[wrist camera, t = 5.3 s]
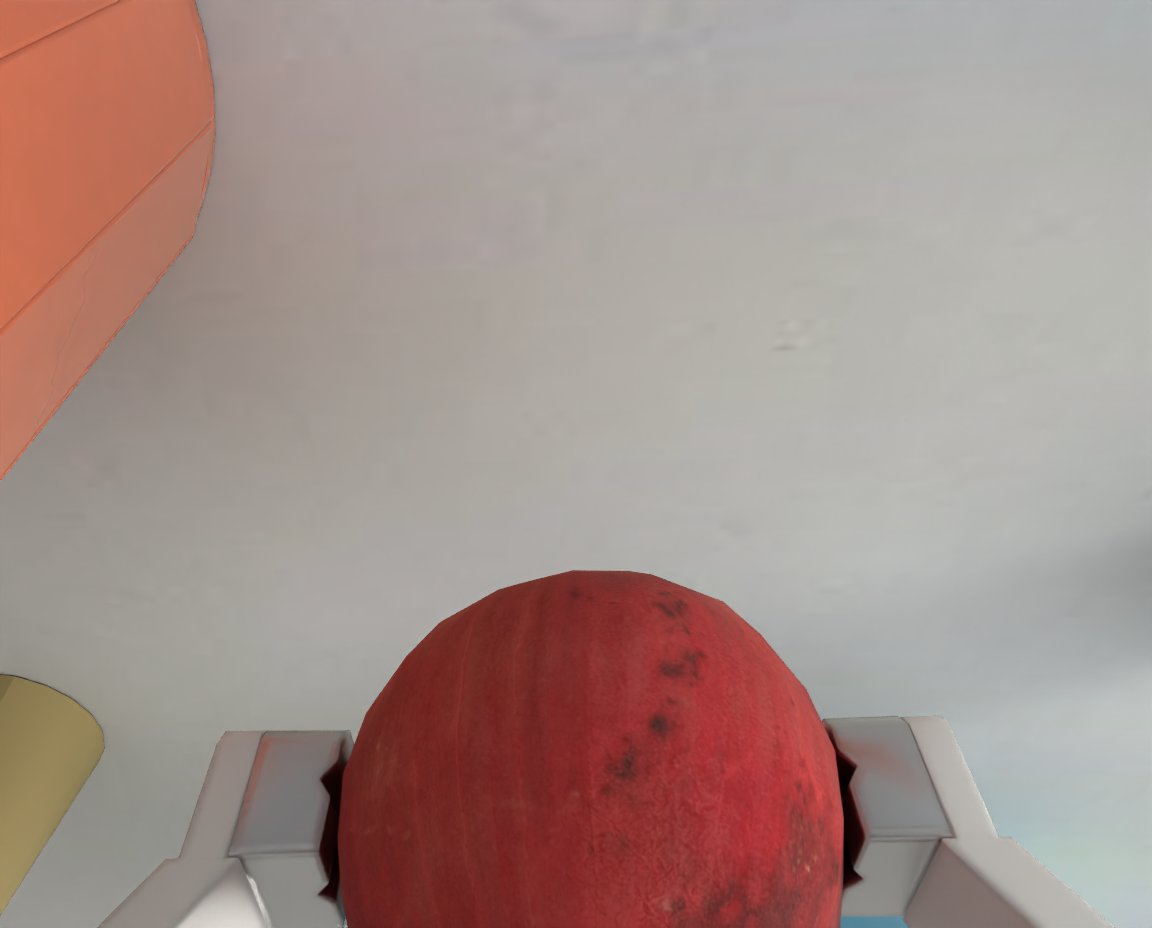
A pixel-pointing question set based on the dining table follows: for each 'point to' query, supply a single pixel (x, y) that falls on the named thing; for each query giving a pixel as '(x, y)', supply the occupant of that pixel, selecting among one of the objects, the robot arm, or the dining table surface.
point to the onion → (592, 771)
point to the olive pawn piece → (38, 770)
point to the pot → (91, 183)
